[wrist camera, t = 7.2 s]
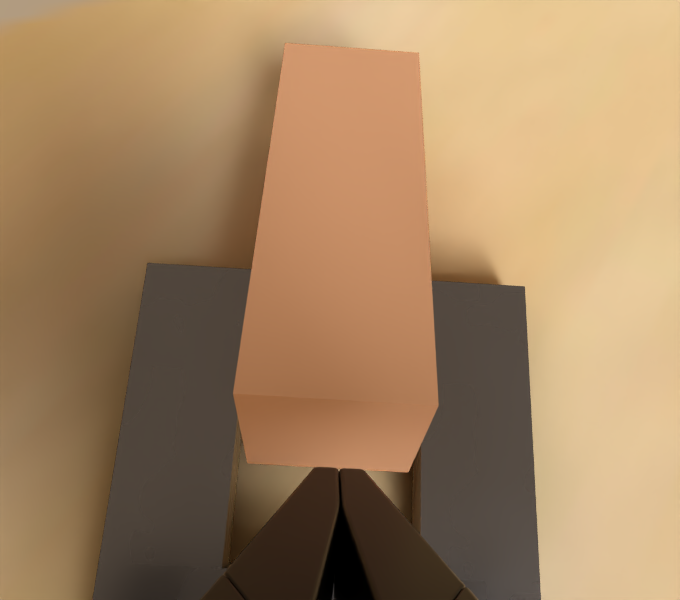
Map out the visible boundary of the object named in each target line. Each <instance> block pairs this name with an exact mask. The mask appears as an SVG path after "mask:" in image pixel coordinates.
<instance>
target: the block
mask: <svg viewBox="0 0 680 600" xmlns="http://www.w3.org/2000/svg"><path fill="white" fill-rule="evenodd" d="M233 396H234V401H235V406H236V411H237V416H238V421H239V425H240V430H241V435H242V440H243V445H244V450H245V455H246V460H247V463H250V464H267V465H285V466H303V467H333V468H338V469H342V468H351V469H362V470H374V471H391V472H409V470H410V467H411V465H412V463H413V461H414V459H415V457H416V454H417V452H418V450H419V448H420V446H421V443H422V441H423V439H424V437H425V435H426V432H427V430H428V428H429V426H430V424H431V421H432V419H433V417H434V415H435V413H436V410H437V408H438V406H439V403H438V385H437V367H436V349H435V332H434V314H433V296H432V278H431V260H430V242H429V224H428V207H427V189H426V171H425V153H424V135H423V117H422V99H421V82H420V64H419V53H414V52H401V51H387V50H374V49H360V48H346V47H333V46H319V45H306V44H292V43H285V48H284V55H283V61H282V68H281V75H280V81H279V88H278V95H277V102H276V108H275V115H274V122H273V128H272V135H271V142H270V149H269V155H268V162H267V169H266V175H265V182H264V189H263V195H262V202H261V209H260V216H259V222H258V229H257V236H256V242H255V249H254V256H253V263H252V269H251V276H250V283H249V289H248V296H247V303H246V309H245V316H244V323H243V330H242V336H241V343H240V350H239V356H238V363H237V370H236V377H235V383H234V390H233Z"/></svg>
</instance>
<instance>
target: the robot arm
mask: <svg viewBox="0 0 680 600" xmlns="http://www.w3.org/2000/svg"><path fill="white" fill-rule="evenodd" d="M333 586H334V600H478V599H477V597H476V596H475V595H474V594H473V593H472V592H471V591H470V589H469V588H467V587H465V585H464V584H463V583H462V581H461V580H460V579H459V578H458V577H457V576H456V575H455V573H454V572H453V571H452V570H451V569H450V568H449V567H448V566H447V564H446V563H445V562H444V561H443V560H442V559H441V558H440V556H439V555H438V554H437V553H436V552H435V551H434V550H433V548H432V547H431V546H430V545H429V544H428V543H427V542H426V540H425V539H424V538H423V537H422V536H421V535H420V534H419V532H418V531H417V530H416V529H415V528H414V527H413V526H412V524H411V523H410V522H409V521H408V520H407V519H406V518H405V517H404V515H403V514H402V513H401V512H400V511H399V510H398V509H397V507H396V506H395V505H394V504H393V503H392V502H391V501H390V499H389V498H388V497H387V496H386V495H385V494H384V493H383V491H382V490H381V489H380V488H379V487H378V486H377V485H376V483H375V482H374V481H373V480H372V479H371V478H370V477H369V476H368V474H367V473H366V472H365V471H364V470H362V469H351V468H342V469H340V471H338V469H337V468H333V467H315V468H314V469H313V470H312V471H311V472H310V473H309V475H308V476H307V477H306V478H305V479H304V480H303V482H302V483H301V484H300V485H299V486H298V487H297V489H296V490H295V491H294V492H293V493H292V494H291V495H290V497H289V498H288V499H287V500H286V501H285V502H284V504H283V505H282V506H281V507H280V508H279V509H278V511H277V512H276V513H275V514H274V515H273V516H272V518H271V519H270V520H269V521H268V522H267V523H266V525H265V526H264V527H263V528H262V529H261V530H260V532H259V533H258V534H257V535H256V536H255V537H254V539H253V540H252V541H251V542H250V543H249V544H248V546H247V547H246V548H245V549H244V550H243V551H242V553H241V554H240V555H239V556H238V557H237V558H236V560H235V561H234V562H233V563H232V564H231V565H230V567H229V568H228V569H227V570H226V571H225V572H224V574H223V575H221V576H220V577H219V578H218V579H217V581H216V582H215V583H214V584H213V585H212V587H211V588H210V589H209V590H208V591H207V592H206V593H205V594H204V595H203V597H202V598H201V599H200V600H332V596H333Z"/></svg>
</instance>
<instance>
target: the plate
mask: <svg viewBox="0 0 680 600" xmlns="http://www.w3.org/2000/svg"><path fill="white" fill-rule="evenodd" d="M250 276H251V269H236V268H220V267H204V266H188V265H172V264H156V263H148V264H147V270H146V276H145V282H144V288H143V294H142V300H141V306H140V313H139V319H138V325H137V331H136V337H135V343H134V349H133V355H132V361H131V368H130V374H129V380H128V386H127V392H126V398H125V404H124V410H123V416H122V423H121V429H120V435H119V441H118V447H117V453H116V459H115V465H114V471H113V478H112V484H111V490H110V496H109V502H108V508H107V514H106V520H105V526H104V533H103V539H102V545H101V551H100V557H99V563H98V569H97V575H96V581H95V588H94V594H93V600H200V599H201V598H202V597H203V595H204V594H205V593H206V592H207V591H208V590H209V589H210V588H211V587H212V585H213V584H214V583H215V582H216V581H217V579H218V578H219V577H220V576H221V575H223V574H224V572H225V571H226V570H227V569H228V568H229V567H230V565H231V564H229V556H230V546H231V536H232V526H233V516H234V506H235V496H236V486H237V476H238V466H239V456H240V446H241V436H242V435H241V430H240V425H239V421H238V416H237V411H236V406H235V401H234V396H233V390H234V383H235V377H236V370H237V363H238V356H239V350H240V343H241V336H242V330H243V323H244V316H245V309H246V303H247V296H248V289H249V283H250ZM432 296H433V314H434V332H435V349H436V367H437V385H438V403H439V406H438V408H437V410H436V413H435V415H434V417H433V419H432V421H431V424H430V426H429V428H428V430H427V432H426V435H425V437H424V439H423V441H422V443H421V446H420V448H419V450H418V452H417V454H416V457H415V459H414V461H413V504H412V526H413V527H414V528H415V529H416V530H417V531H418V532H419V534H420V535H421V536H422V537H423V538H424V539H425V540H426V542H427V543H428V544H429V545H430V546H431V547H432V548H433V550H434V551H435V552H436V553H437V554H438V555H439V556H440V558H441V559H442V560H443V561H444V562H445V563H446V564H447V566H448V567H449V568H450V569H451V570H452V571H453V572H454V573H455V575H456V576H457V577H458V578H459V579H460V580H461V581H462V583H463V584H464V585H465V587H467V588H469V589H470V591H471V592H472V593H473V594H474V595H475V596H476V597H477V599H478V600H541V593H540V573H539V554H538V535H537V515H536V496H535V476H534V457H533V438H532V418H531V399H530V380H529V360H528V341H527V321H526V302H525V287H524V286H508V285H492V284H476V283H460V282H444V281H432ZM332 600H334V586H333V596H332Z"/></svg>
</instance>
